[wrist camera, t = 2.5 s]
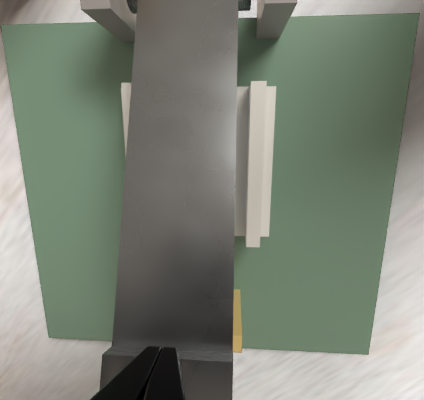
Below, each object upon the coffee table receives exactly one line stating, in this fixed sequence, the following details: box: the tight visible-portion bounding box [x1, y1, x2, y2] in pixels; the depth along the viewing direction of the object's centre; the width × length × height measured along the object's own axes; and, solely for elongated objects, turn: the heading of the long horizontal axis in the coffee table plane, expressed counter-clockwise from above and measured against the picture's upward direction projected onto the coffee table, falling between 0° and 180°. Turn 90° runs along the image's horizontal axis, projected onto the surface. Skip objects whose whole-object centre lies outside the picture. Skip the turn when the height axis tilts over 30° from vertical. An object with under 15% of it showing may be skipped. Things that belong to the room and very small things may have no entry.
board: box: [1, 0, 420, 355], centre depth 16 cm, size 22×21×6 cm
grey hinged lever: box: [100, 0, 251, 400], centre depth 11 cm, size 5×16×2 cm, turn 0°
